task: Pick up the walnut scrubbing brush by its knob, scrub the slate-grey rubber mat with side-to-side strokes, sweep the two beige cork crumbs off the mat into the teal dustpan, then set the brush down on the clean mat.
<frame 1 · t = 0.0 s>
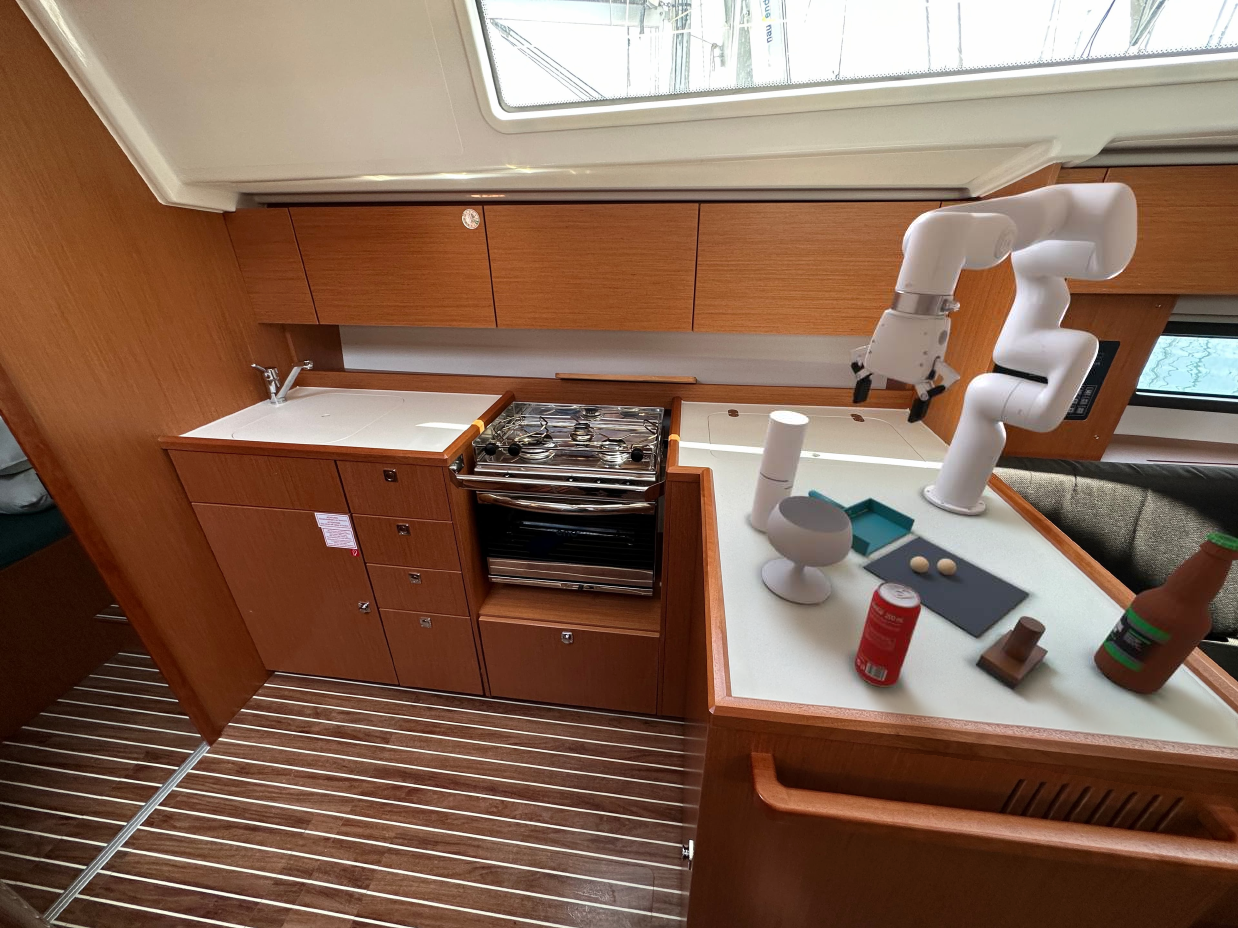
hand: (885, 411, 79), 31 cm above the worktop, tool pointing down, fingers open, 9 cm apart
dustpan: (866, 531, 102), on the worktop
crumb b: (919, 564, 89), point 2 cm above the worktop, touching mat
beverage can: (871, 671, 70), on the worktop
chalice: (794, 582, 87), on the worktop
mat: (943, 580, 88), on the worktop
bottle: (1122, 675, 71), on the worktop
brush: (1009, 662, 72), on the worktop
crumb a: (946, 566, 89), point 2 cm above the worktop, touching mat
cylindrical container: (766, 523, 103), on the worktop
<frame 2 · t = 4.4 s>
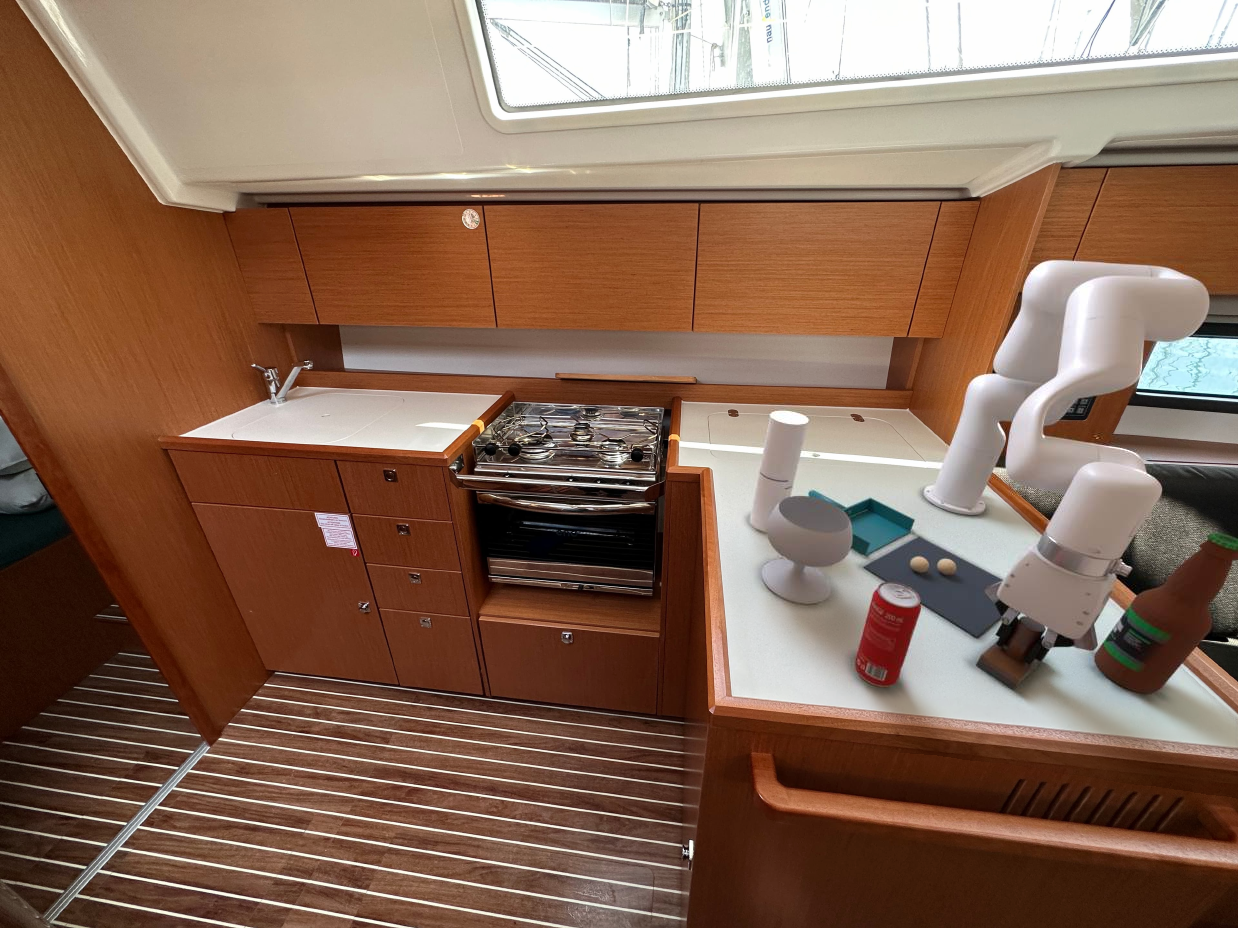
hand: (1016, 649, 70), 3 cm above the worktop, tool pointing down, fingers closed on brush, 3 cm apart
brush: (1009, 662, 72), on the worktop, touching gripper
everything else where it was.
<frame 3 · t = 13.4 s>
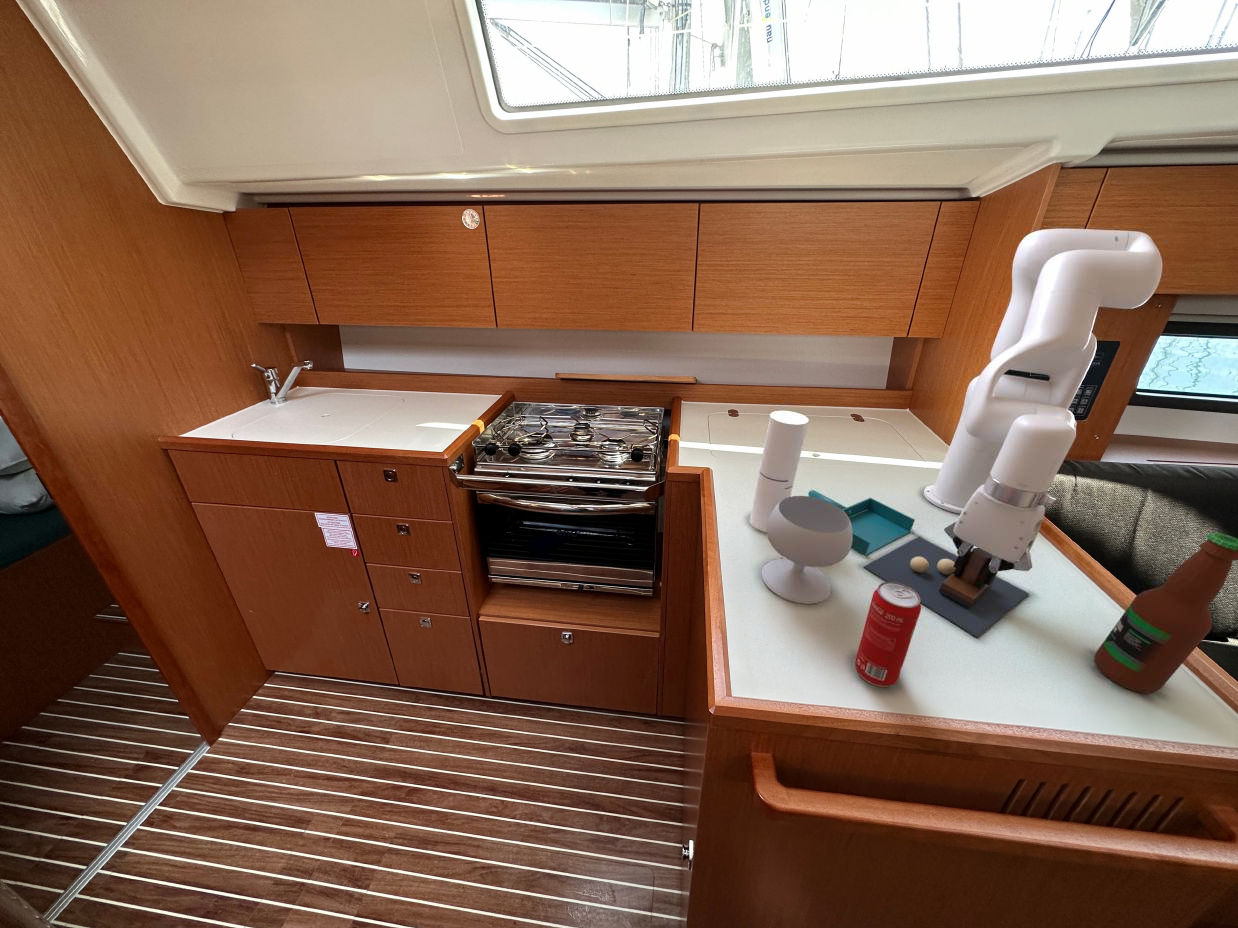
hand: (970, 577, 84), 3 cm above the worktop, tool pointing down, fingers closed on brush, 3 cm apart
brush: (965, 588, 85), point 1 cm above the worktop, touching gripper
everything else where it was.
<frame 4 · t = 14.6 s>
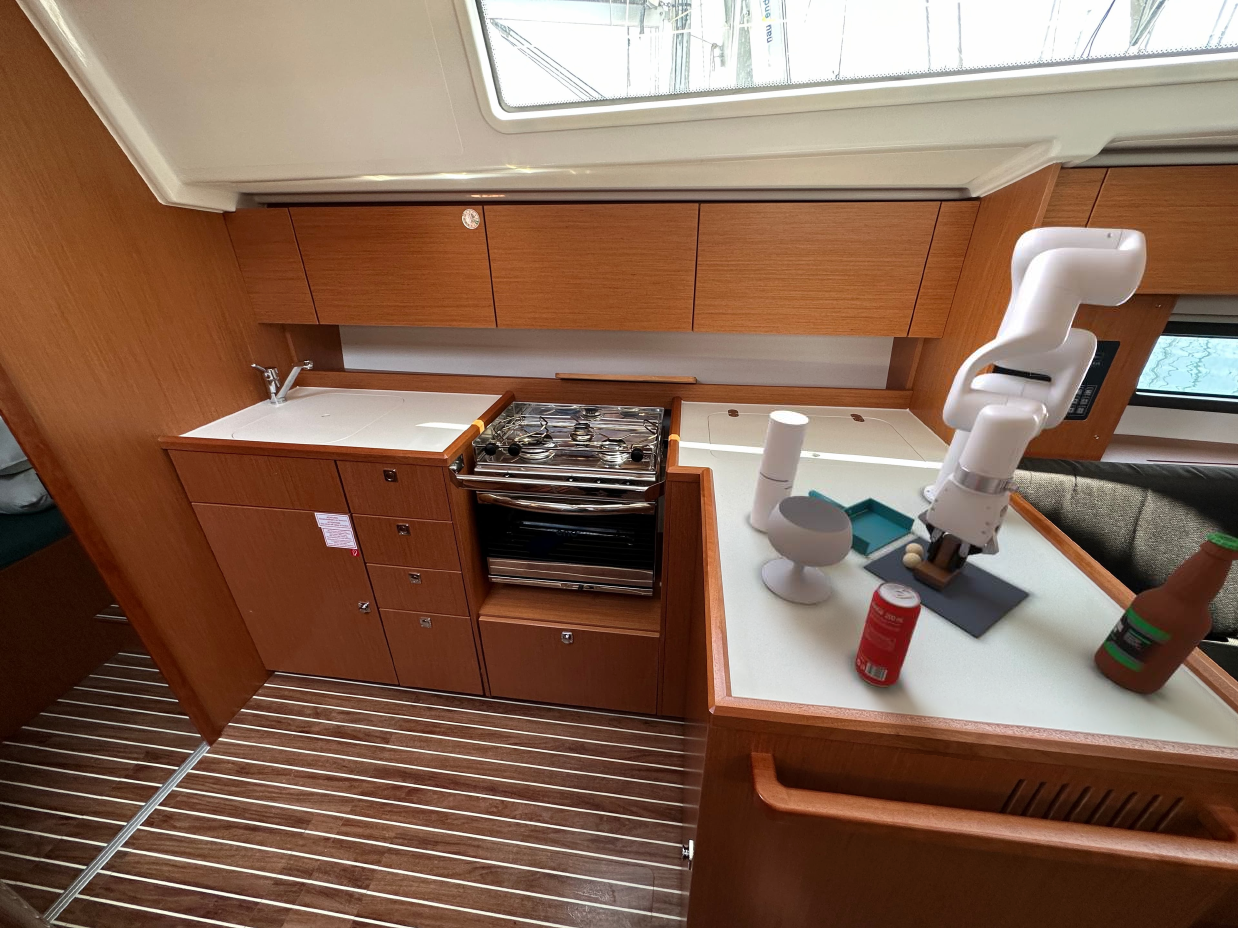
hand: (942, 562, 88), 3 cm above the worktop, tool pointing down, fingers closed on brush, 3 cm apart
crumb b: (912, 560, 90), point 2 cm above the worktop, tilted 51°, touching mat
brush: (938, 573, 89), point 1 cm above the worktop, touching gripper
crumb a: (914, 550, 93), point 2 cm above the worktop, tilted 137°, touching mat
everything else where it was.
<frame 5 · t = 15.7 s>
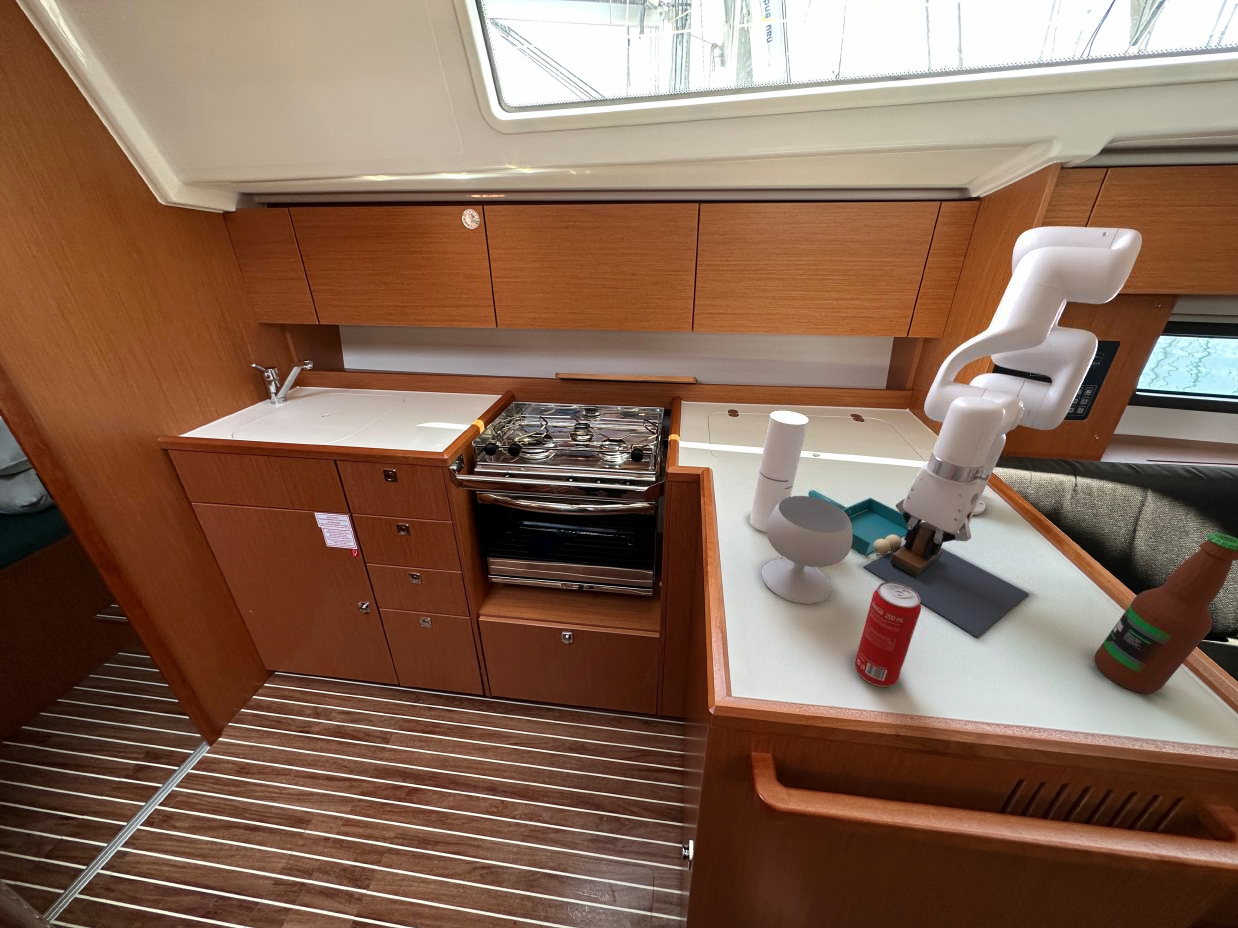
hand: (919, 550, 91), 3 cm above the worktop, tool pointing down, fingers closed on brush, 3 cm apart
crumb b: (881, 546, 95), point 2 cm above the worktop, tilted 81°, touching dustpan
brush: (915, 560, 92), point 1 cm above the worktop, touching gripper
crumb a: (893, 541, 96), point 1 cm above the worktop, tilted 23°, touching mat
everything else where it was.
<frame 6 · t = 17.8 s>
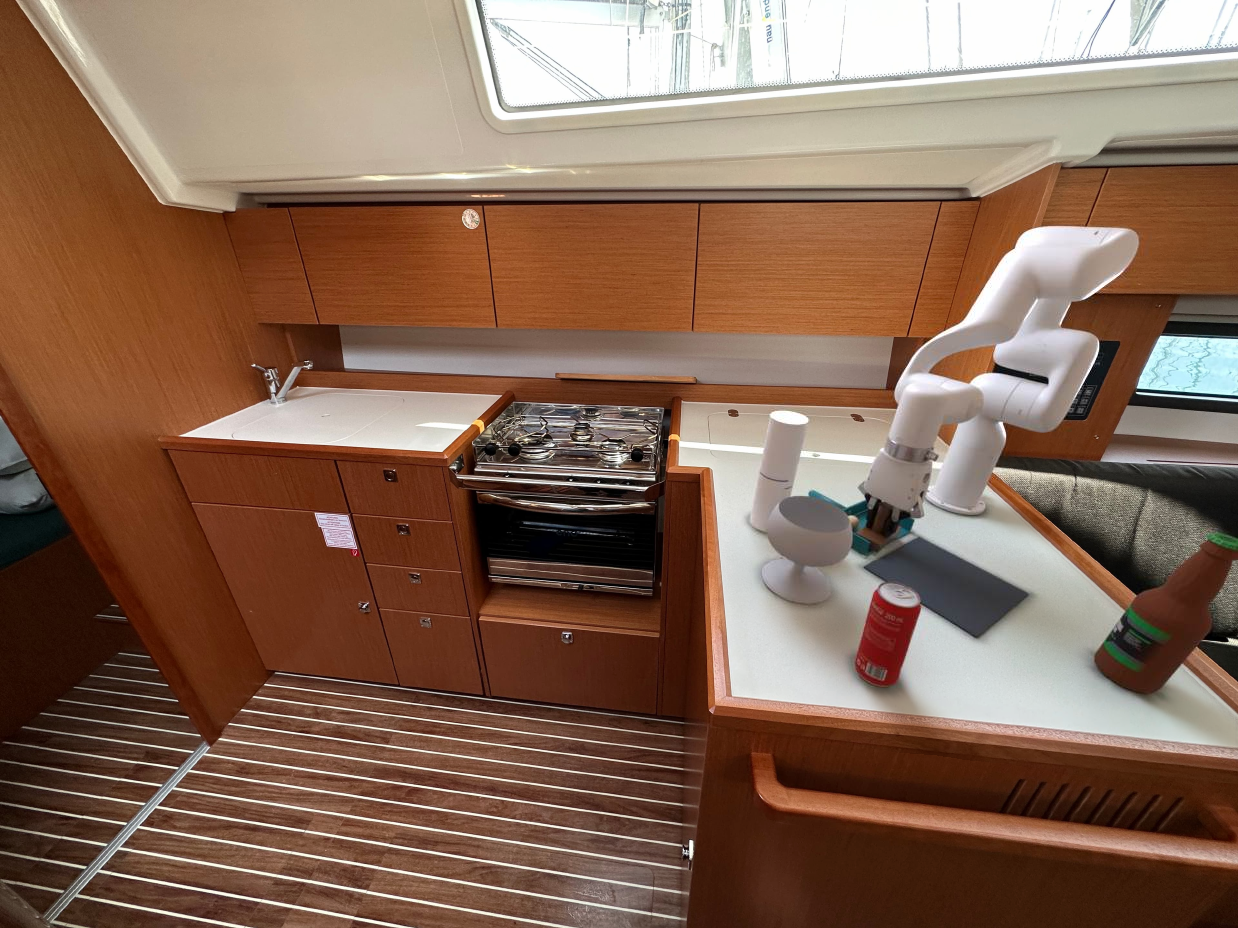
hand: (879, 528, 97), 3 cm above the worktop, tool pointing down, fingers closed on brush, 3 cm apart
crumb b: (844, 527, 100), point 2 cm above the worktop, tilted 113°, touching dustpan
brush: (876, 538, 98), point 1 cm above the worktop, touching gripper
crumb a: (851, 522, 102), point 2 cm above the worktop, tilted 10°, touching dustpan
everything else where it was.
when the fingers open (3 cm above the worktop, at t = 22.8 s): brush stays where it is, resting on mat.
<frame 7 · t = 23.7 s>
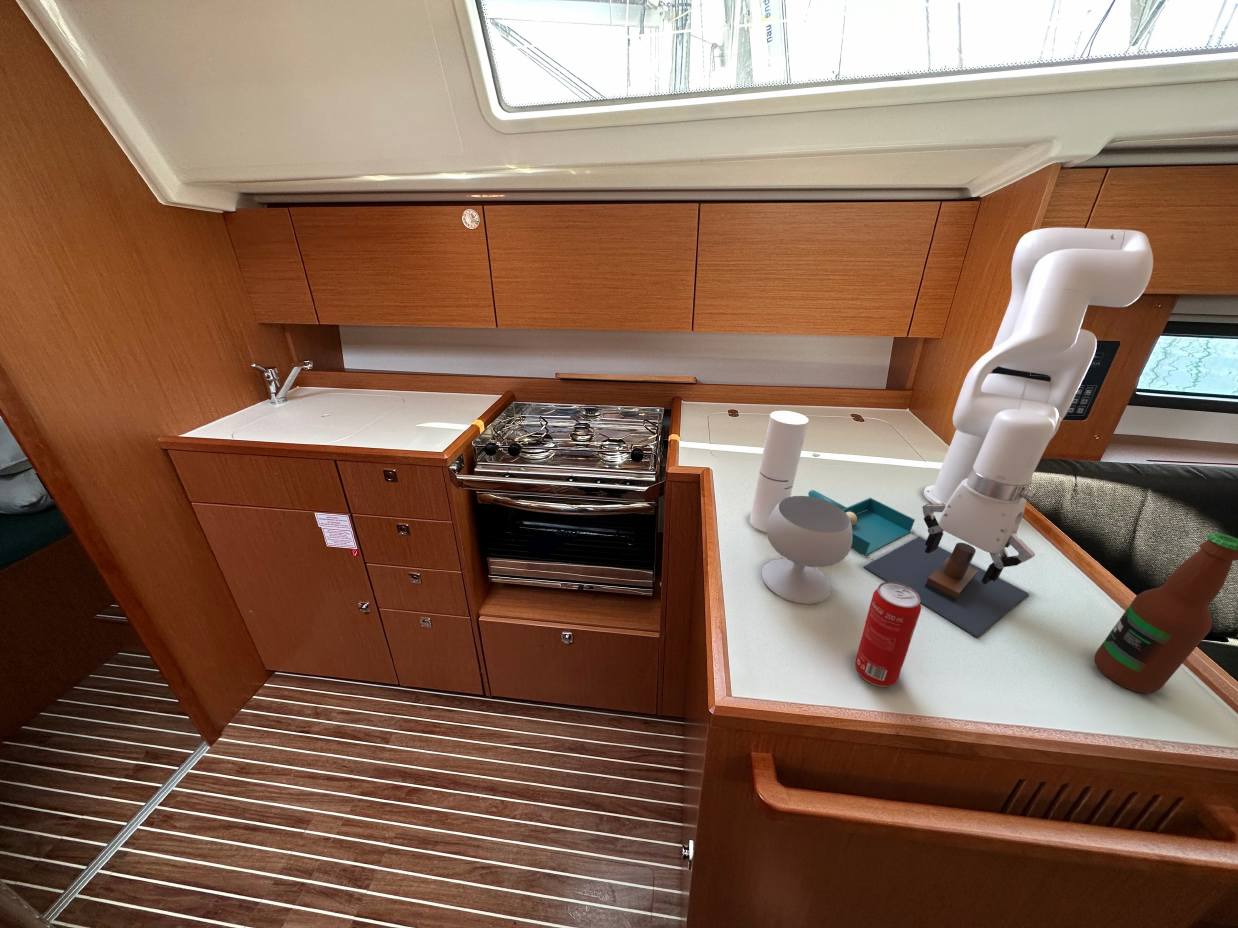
hand: (957, 565, 86), 4 cm above the worktop, tool pointing down, fingers open, 9 cm apart
crumb b: (837, 525, 100), point 2 cm above the worktop, tilted 103°, touching dustpan
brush: (949, 583, 87), resting on mat
crumb a: (849, 518, 103), point 2 cm above the worktop, tilted 51°, touching dustpan
everything else where it was.
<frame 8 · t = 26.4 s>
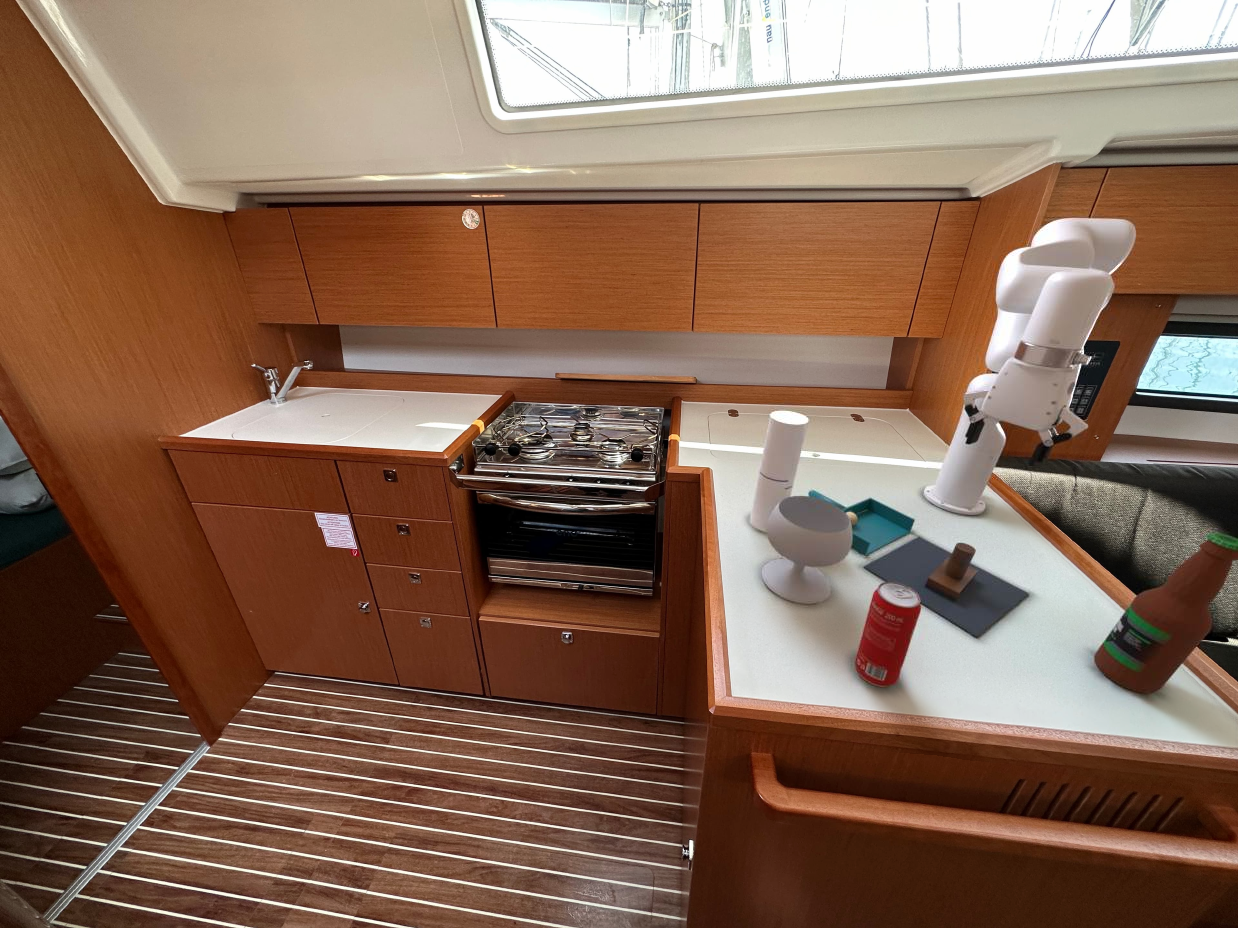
hand: (1000, 453, 82), 24 cm above the worktop, tool pointing down, fingers open, 9 cm apart
nothing on the worktop moved.
at the end: crumb a inside the target area in the dustpan (4.0 cm from its centre), point 1.8 cm above the dustpan's base; crumb b inside the target area in the dustpan (7.2 cm from its centre), point 1.8 cm above the dustpan's base; the gripper is holding nothing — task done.
